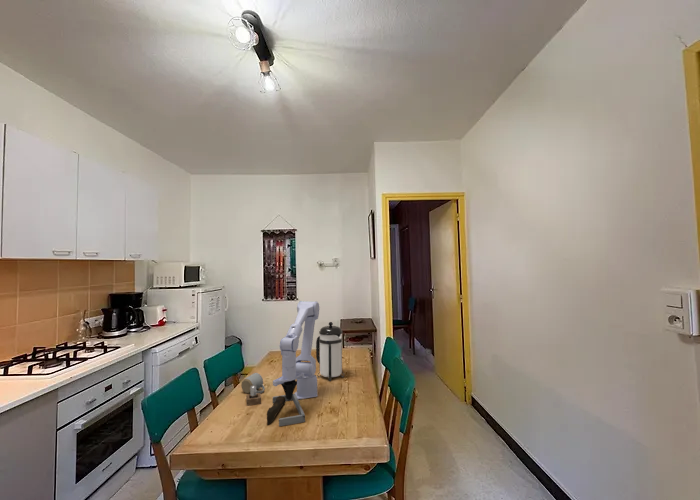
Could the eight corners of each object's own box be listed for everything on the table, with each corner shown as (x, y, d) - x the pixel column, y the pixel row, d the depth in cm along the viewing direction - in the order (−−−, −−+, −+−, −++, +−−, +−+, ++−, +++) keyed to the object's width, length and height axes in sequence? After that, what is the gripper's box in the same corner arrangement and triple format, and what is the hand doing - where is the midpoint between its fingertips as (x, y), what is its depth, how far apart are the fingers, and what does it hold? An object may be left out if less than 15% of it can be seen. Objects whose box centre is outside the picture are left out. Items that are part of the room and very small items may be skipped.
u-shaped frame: (294, 399, 146) (294, 393, 146) (305, 421, 125) (305, 415, 125) (272, 402, 143) (272, 396, 143) (279, 426, 121) (279, 419, 121)
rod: (256, 400, 145) (256, 384, 146) (256, 402, 143) (256, 386, 143) (250, 401, 144) (250, 385, 145) (250, 403, 142) (250, 387, 142)
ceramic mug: (239, 392, 154) (240, 376, 154) (251, 387, 162) (251, 371, 162) (257, 396, 150) (257, 380, 150) (268, 390, 157) (268, 374, 158)
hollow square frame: (259, 398, 147) (260, 392, 147) (260, 403, 142) (261, 397, 142) (246, 400, 145) (246, 394, 145) (246, 405, 140) (246, 399, 140)
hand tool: (276, 404, 141) (276, 393, 142) (285, 404, 141) (285, 394, 141) (260, 425, 123) (260, 413, 123) (270, 426, 122) (270, 413, 122)
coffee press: (346, 372, 183) (345, 319, 185) (342, 382, 167) (342, 324, 169) (316, 371, 185) (316, 319, 187) (310, 381, 169) (310, 324, 171)
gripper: (297, 360, 143) (297, 391, 142) (268, 367, 133) (268, 401, 132) (307, 363, 138) (307, 395, 137) (278, 371, 128) (278, 406, 127)
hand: (288, 399), depth 134 cm, fingers closed
